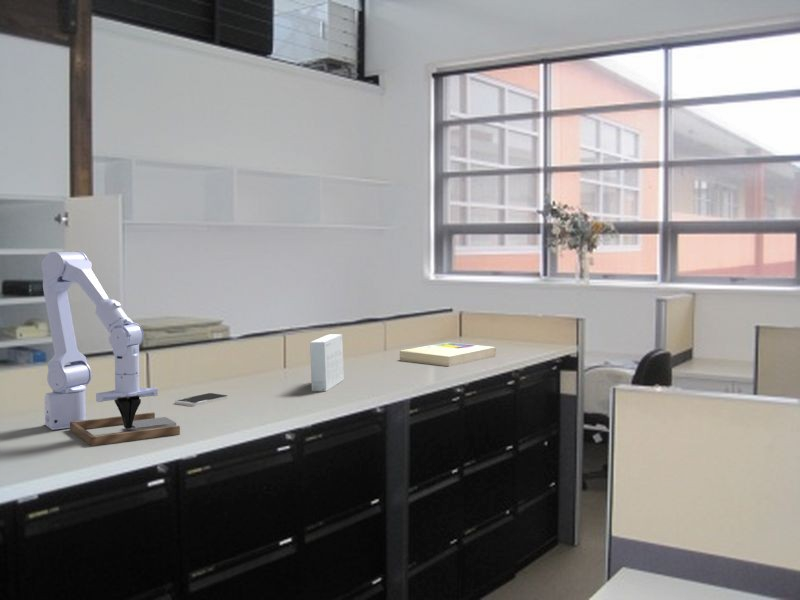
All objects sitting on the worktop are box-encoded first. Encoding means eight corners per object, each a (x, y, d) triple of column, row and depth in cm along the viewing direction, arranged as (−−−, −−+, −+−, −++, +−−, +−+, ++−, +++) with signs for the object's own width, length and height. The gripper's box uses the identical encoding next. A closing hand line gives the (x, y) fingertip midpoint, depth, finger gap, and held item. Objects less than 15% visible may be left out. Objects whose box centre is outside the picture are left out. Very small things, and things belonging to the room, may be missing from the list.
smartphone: (229, 395, 248) (193, 403, 235) (229, 400, 248) (193, 408, 235) (209, 392, 251) (173, 400, 238) (209, 397, 252) (173, 405, 239)
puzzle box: (398, 361, 328) (448, 367, 313) (398, 350, 327) (449, 355, 313) (449, 352, 356) (497, 357, 342) (449, 342, 356) (497, 346, 342)
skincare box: (328, 379, 281) (328, 333, 280) (344, 380, 280) (344, 334, 279) (309, 391, 261) (309, 341, 259) (326, 391, 260) (326, 341, 258)
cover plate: (136, 435, 201) (136, 427, 201) (126, 429, 208) (126, 421, 207) (176, 430, 207) (176, 422, 207) (165, 424, 213) (165, 416, 213)
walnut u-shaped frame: (91, 446, 189) (91, 437, 189) (70, 429, 205) (70, 422, 205) (179, 434, 202) (179, 426, 202) (153, 419, 217) (153, 412, 217)
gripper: (101, 378, 195) (102, 434, 196) (161, 372, 204) (162, 427, 205) (93, 373, 201) (94, 428, 202) (152, 368, 209) (152, 421, 210)
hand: (128, 427), depth 204 cm, fingers closed
